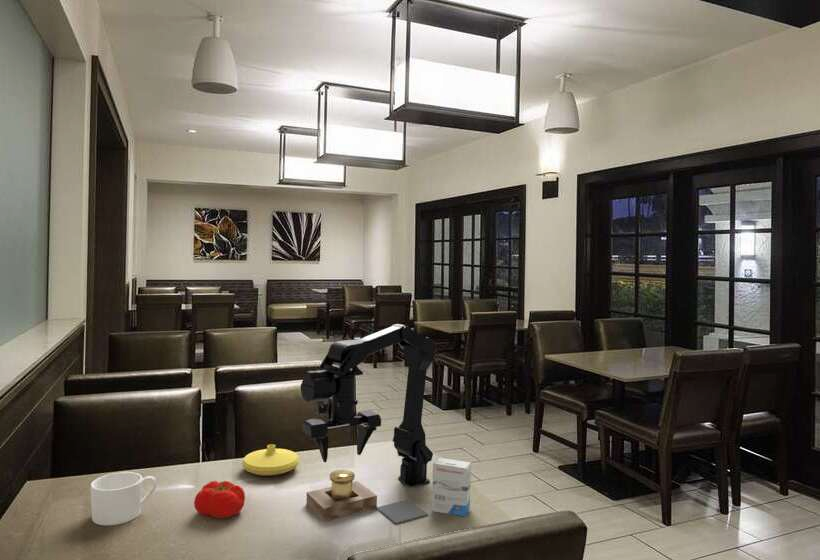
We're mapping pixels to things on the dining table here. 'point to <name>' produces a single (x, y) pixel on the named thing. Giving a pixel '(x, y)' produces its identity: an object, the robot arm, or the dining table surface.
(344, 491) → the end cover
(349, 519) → the dining table surface
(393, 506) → the felt pad
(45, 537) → the dining table surface
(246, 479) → the dining table surface
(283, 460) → the yellow flat knobbed disc
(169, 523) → the dining table surface
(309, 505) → the bore block
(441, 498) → the ink box
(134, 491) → the mug
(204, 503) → the tomato
